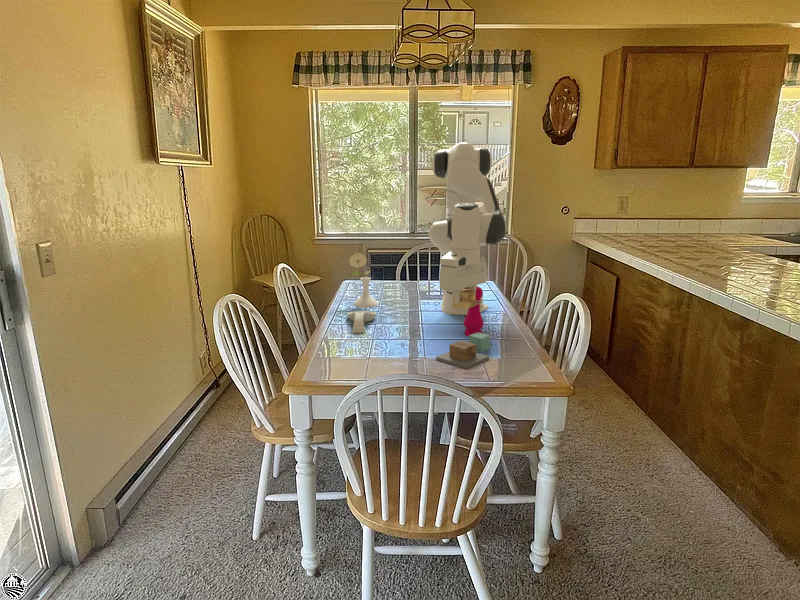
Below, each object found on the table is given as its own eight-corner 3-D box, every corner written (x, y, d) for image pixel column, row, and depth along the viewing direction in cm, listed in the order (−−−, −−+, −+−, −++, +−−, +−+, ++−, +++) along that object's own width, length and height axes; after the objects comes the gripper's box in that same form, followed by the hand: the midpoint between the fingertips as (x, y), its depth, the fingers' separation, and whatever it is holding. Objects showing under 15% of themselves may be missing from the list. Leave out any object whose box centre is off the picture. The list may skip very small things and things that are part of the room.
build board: (458, 350, 170) (459, 347, 170) (488, 359, 162) (489, 356, 162) (436, 359, 162) (436, 356, 162) (466, 369, 154) (466, 365, 154)
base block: (460, 352, 166) (461, 340, 165) (475, 356, 162) (476, 344, 161) (449, 356, 162) (449, 344, 161) (464, 361, 158) (464, 348, 157)
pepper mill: (479, 331, 192) (481, 279, 187) (485, 337, 185) (487, 283, 180) (461, 332, 190) (462, 280, 186) (466, 338, 184) (468, 284, 179)
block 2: (477, 346, 175) (477, 332, 174) (489, 349, 172) (489, 335, 171) (468, 349, 172) (469, 335, 171) (480, 352, 168) (481, 338, 167)
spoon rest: (348, 318, 211) (348, 302, 209) (376, 318, 211) (376, 301, 210) (343, 335, 188) (343, 317, 186) (375, 335, 188) (375, 316, 187)
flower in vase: (380, 305, 231) (379, 251, 226) (376, 312, 220) (376, 255, 215) (352, 305, 233) (350, 251, 227) (347, 311, 222) (345, 254, 216)
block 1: (462, 303, 161) (462, 288, 160) (475, 306, 158) (475, 290, 157) (452, 306, 158) (453, 290, 157) (465, 309, 154) (466, 293, 153)
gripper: (476, 252, 164) (475, 294, 167) (436, 259, 149) (435, 305, 153) (493, 254, 160) (491, 297, 163) (453, 261, 145) (452, 308, 148)
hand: (464, 301), depth 158 cm, fingers closed on block 1, 5 cm apart
